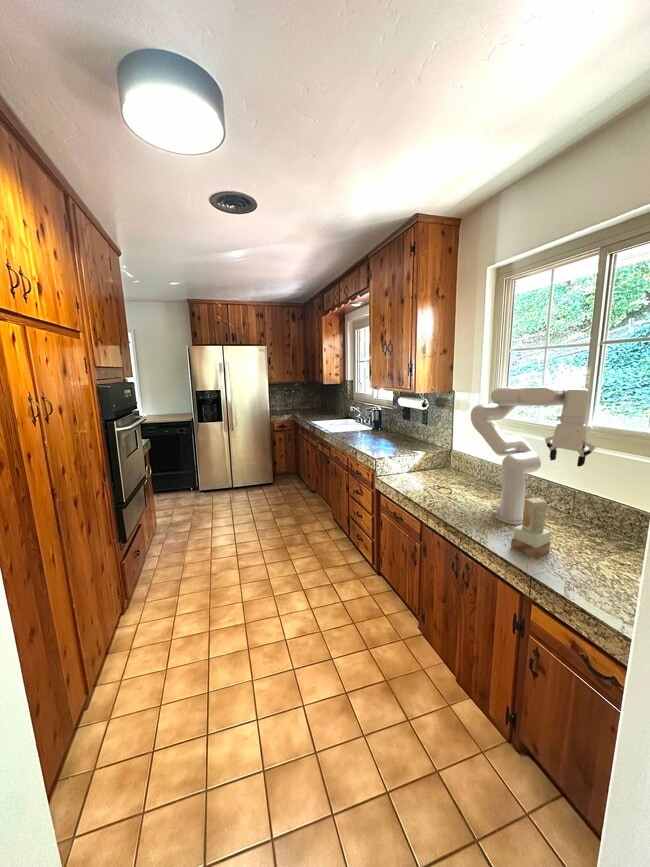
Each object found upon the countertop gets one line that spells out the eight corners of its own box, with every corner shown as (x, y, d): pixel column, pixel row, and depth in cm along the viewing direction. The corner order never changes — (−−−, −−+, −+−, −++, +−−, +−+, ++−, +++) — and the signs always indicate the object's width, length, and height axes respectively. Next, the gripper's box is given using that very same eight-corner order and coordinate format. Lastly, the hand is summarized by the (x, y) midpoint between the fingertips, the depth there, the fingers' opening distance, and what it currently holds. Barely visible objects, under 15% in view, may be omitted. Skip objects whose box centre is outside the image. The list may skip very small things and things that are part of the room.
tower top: (513, 538, 136) (514, 527, 135) (526, 532, 140) (527, 522, 139) (536, 548, 128) (538, 537, 127) (549, 542, 132) (551, 531, 132)
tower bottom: (510, 549, 136) (511, 539, 135) (522, 541, 142) (523, 531, 141) (537, 560, 128) (539, 549, 127) (549, 552, 134) (550, 541, 133)
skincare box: (535, 526, 136) (539, 497, 133) (543, 531, 131) (548, 501, 129) (520, 527, 135) (524, 498, 132) (528, 532, 130) (533, 502, 128)
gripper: (543, 418, 138) (538, 459, 142) (594, 424, 124) (587, 470, 127) (553, 416, 142) (547, 456, 145) (603, 422, 128) (595, 466, 131)
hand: (566, 462), depth 136 cm, fingers open, 9 cm apart
